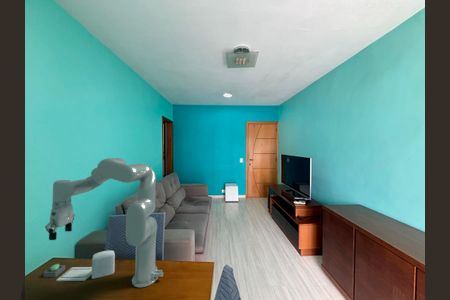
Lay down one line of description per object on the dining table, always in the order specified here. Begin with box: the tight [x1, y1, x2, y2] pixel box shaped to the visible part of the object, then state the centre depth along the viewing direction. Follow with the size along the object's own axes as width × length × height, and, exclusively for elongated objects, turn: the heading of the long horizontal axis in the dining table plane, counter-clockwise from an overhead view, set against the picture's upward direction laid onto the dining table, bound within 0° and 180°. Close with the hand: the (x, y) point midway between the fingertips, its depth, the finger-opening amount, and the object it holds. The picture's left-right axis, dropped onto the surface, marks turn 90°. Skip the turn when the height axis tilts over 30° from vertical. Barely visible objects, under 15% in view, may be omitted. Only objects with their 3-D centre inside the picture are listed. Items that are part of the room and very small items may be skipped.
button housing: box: [43, 264, 66, 278], centre depth 98 cm, size 6×6×2 cm
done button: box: [49, 263, 60, 272], centre depth 98 cm, size 4×4×2 cm
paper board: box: [56, 266, 92, 282], centre depth 97 cm, size 14×10×1 cm
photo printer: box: [91, 250, 116, 280], centre depth 97 cm, size 10×4×12 cm, turn 116°
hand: (60, 235), depth 98 cm, fingers open, 9 cm apart
